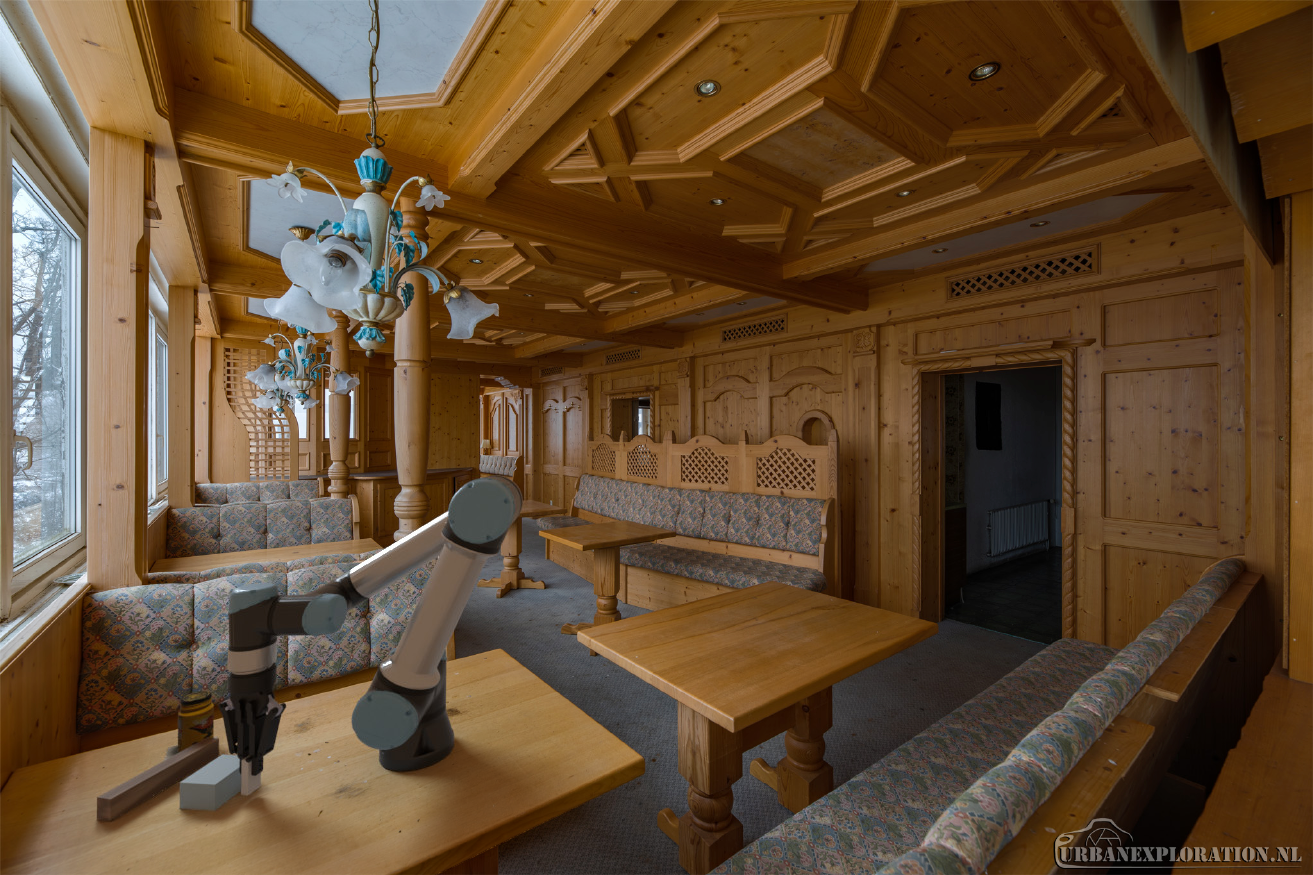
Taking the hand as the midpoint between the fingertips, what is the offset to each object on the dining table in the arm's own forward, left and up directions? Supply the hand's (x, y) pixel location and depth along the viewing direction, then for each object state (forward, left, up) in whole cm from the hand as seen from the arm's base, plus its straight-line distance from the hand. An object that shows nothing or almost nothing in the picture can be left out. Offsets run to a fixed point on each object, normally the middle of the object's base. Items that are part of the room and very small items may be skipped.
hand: (251, 790), depth 103 cm
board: (+20, 0, -2) cm, 20 cm away
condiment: (+27, -11, -2) cm, 30 cm away
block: (+7, 0, -2) cm, 8 cm away
